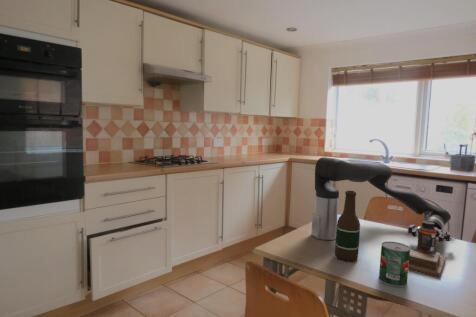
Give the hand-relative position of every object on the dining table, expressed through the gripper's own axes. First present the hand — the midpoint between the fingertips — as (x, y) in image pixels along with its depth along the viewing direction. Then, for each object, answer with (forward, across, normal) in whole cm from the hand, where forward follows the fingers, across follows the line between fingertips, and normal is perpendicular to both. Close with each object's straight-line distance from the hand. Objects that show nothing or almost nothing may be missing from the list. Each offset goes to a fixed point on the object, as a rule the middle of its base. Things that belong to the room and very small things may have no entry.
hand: (426, 236), depth 125 cm
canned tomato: (+34, -4, +6) cm, 35 cm away
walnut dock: (+14, 0, +6) cm, 15 cm away
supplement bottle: (-2, 0, +6) cm, 6 cm away
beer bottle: (+27, -21, +6) cm, 34 cm away
